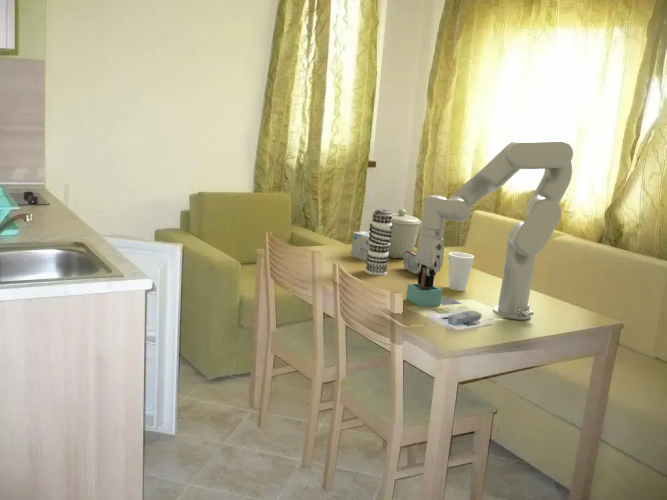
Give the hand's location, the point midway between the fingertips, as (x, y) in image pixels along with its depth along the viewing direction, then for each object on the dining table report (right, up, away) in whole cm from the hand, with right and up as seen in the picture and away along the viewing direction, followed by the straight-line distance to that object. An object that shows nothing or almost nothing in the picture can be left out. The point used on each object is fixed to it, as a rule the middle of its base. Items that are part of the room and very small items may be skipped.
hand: (425, 284), depth 237 cm
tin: (+1, +2, +44) cm, 44 cm away
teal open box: (-1, -6, +1) cm, 7 cm away
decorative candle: (-14, +3, +38) cm, 41 cm away
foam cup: (+15, -3, +26) cm, 30 cm away
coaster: (+8, -6, +6) cm, 12 cm away
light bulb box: (-18, +8, +60) cm, 63 cm away
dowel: (-1, -6, +1) cm, 6 cm away
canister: (-3, +9, +71) cm, 72 cm away
